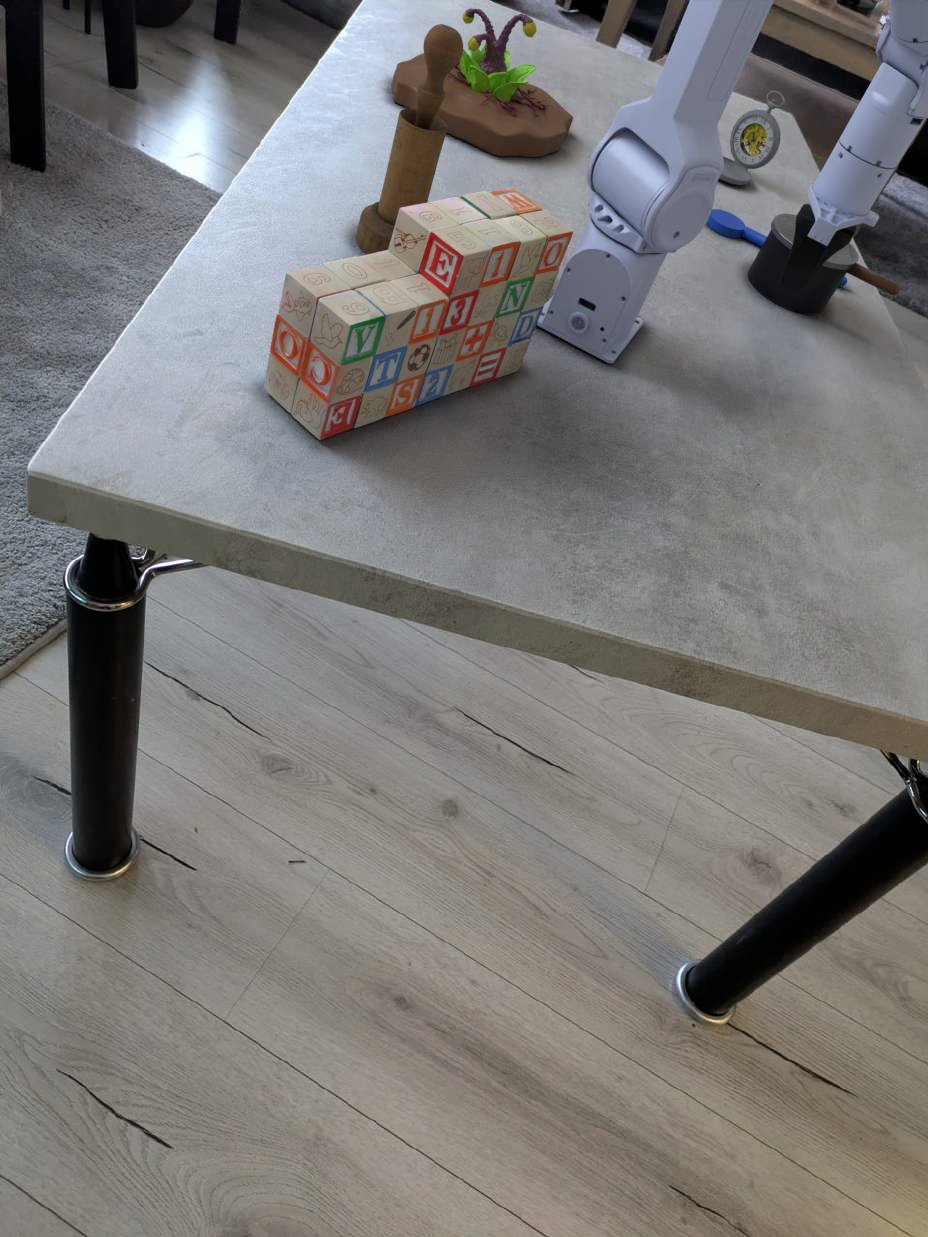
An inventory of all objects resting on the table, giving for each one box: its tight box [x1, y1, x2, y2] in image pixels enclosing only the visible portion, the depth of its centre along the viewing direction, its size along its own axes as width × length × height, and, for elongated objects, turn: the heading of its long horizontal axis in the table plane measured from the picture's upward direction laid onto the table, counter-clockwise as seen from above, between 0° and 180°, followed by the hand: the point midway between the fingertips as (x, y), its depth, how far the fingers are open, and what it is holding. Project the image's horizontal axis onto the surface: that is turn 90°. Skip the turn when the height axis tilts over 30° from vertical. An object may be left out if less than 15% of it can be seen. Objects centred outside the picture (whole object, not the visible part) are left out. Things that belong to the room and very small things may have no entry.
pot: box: [747, 213, 902, 315], centre depth 104 cm, size 10×15×6 cm, turn 65°
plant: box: [390, 8, 574, 158], centre depth 110 cm, size 20×20×11 cm
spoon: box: [706, 208, 848, 288], centre depth 111 cm, size 17×4×1 cm, turn 64°
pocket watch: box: [718, 90, 786, 186], centre depth 121 cm, size 8×8×10 cm
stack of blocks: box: [263, 187, 574, 441], centre depth 69 cm, size 21×6×12 cm, turn 136°
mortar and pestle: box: [355, 23, 464, 255], centre depth 80 cm, size 7×6×18 cm
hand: (789, 285), depth 99 cm, fingers closed
